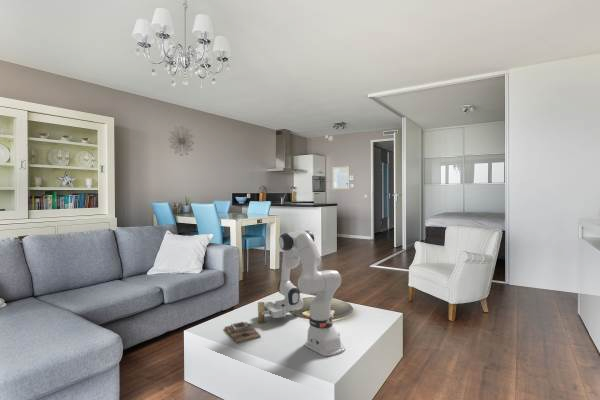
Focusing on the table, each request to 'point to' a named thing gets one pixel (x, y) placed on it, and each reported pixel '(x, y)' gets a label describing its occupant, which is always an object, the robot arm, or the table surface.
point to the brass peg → (260, 308)
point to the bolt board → (242, 332)
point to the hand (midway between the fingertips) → (259, 311)
